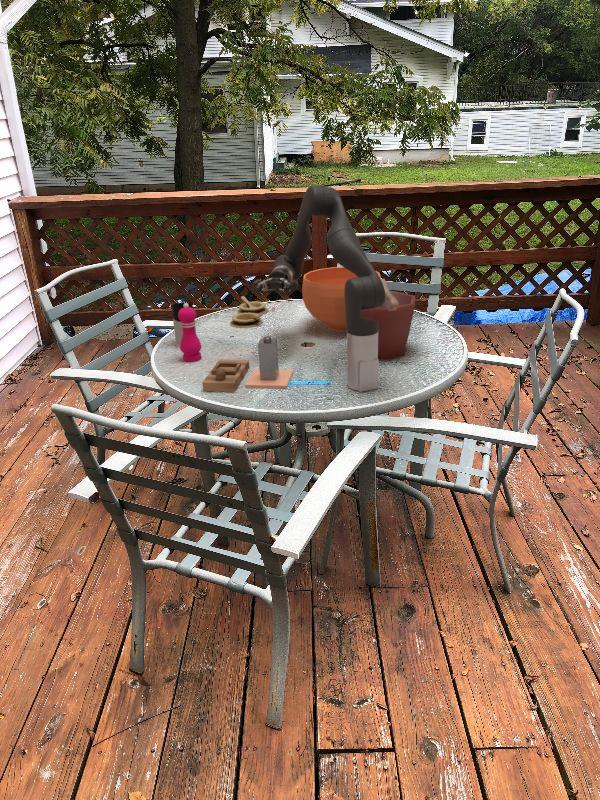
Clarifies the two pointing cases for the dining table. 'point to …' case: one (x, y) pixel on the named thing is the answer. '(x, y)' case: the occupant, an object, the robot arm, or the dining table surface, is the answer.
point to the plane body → (226, 375)
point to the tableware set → (249, 314)
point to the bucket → (392, 322)
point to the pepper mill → (189, 335)
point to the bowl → (327, 296)
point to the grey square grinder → (268, 358)
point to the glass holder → (178, 321)
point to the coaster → (279, 383)
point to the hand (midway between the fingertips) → (271, 290)
